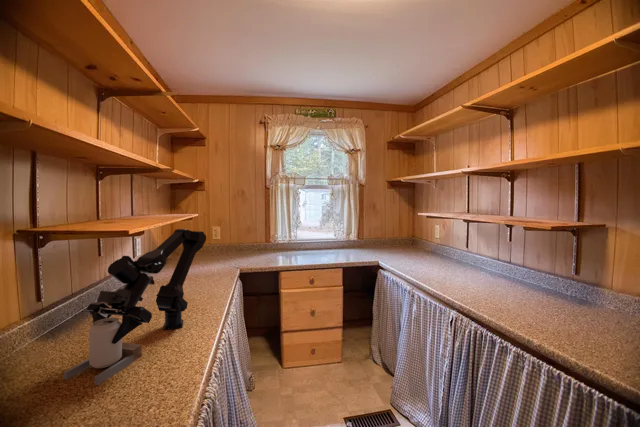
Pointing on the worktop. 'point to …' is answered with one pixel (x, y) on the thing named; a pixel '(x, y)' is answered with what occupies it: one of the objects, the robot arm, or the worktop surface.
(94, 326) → the can
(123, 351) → the stop block
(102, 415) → the worktop surface
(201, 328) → the worktop surface
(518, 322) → the worktop surface
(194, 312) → the worktop surface
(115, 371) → the guide rails
